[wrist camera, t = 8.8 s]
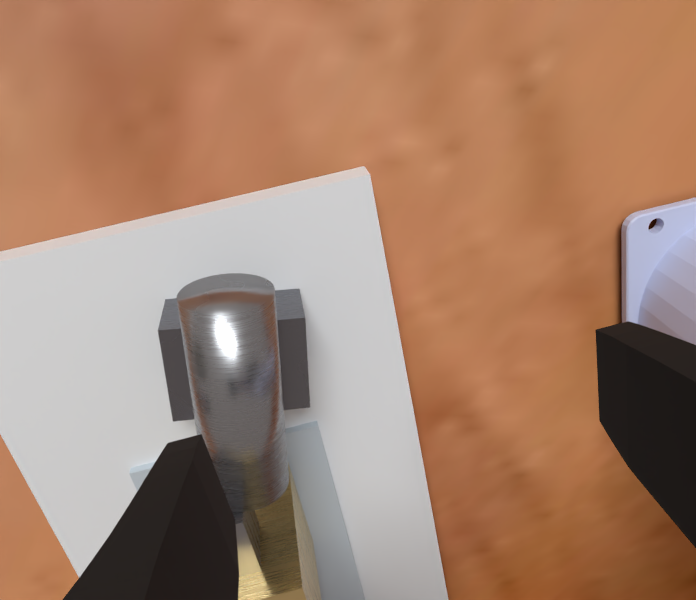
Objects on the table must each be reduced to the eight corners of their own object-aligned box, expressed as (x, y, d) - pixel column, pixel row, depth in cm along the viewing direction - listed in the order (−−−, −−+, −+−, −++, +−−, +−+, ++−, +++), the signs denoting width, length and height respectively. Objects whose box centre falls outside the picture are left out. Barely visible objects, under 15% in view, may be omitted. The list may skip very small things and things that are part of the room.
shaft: (157, 252, 19) (136, 321, 15) (296, 242, 19) (311, 306, 15) (184, 423, 21) (172, 520, 17) (306, 410, 22) (321, 502, 18)
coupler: (274, 417, 21) (285, 538, 17) (324, 576, 25) (344, 708, 21) (151, 447, 21) (130, 578, 16) (222, 603, 25) (220, 742, 20)
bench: (363, 166, 20) (372, 177, 18) (460, 677, 31) (468, 704, 30) (-69, 267, 19) (-89, 285, 18) (189, 752, 30) (187, 783, 29)
